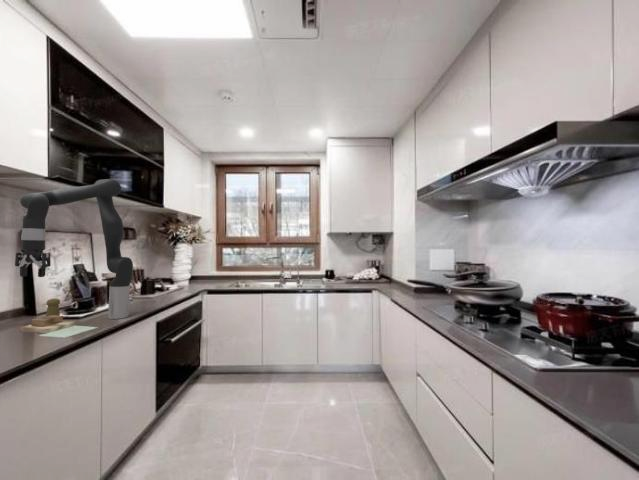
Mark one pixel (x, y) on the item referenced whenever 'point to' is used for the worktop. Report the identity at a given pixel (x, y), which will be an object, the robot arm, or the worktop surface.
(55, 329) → the birch deck
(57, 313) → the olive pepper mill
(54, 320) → the walnut tile
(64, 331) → the sage mat
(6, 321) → the worktop surface
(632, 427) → the worktop surface
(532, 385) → the worktop surface
